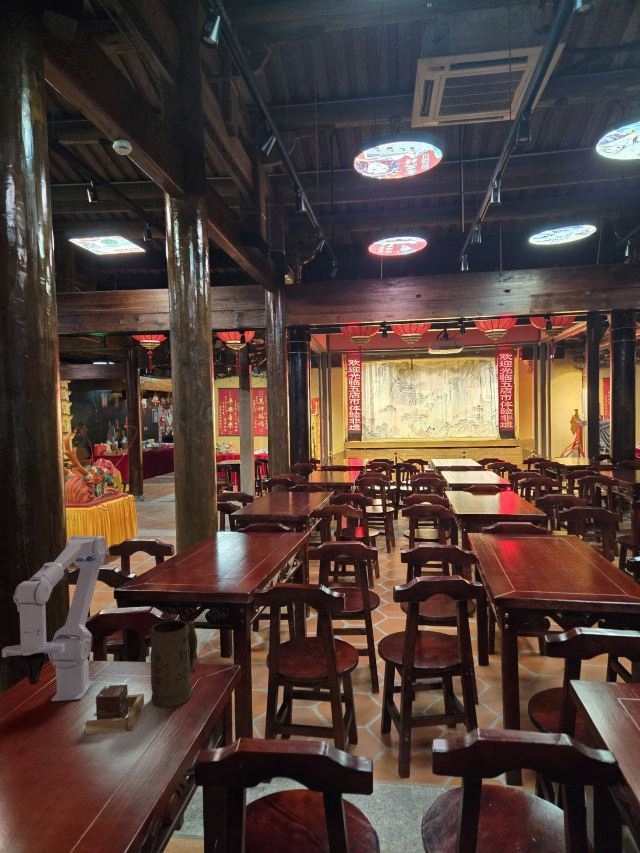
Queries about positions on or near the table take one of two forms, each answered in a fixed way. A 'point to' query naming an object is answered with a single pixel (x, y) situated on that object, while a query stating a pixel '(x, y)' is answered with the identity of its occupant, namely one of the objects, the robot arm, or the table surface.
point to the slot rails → (118, 723)
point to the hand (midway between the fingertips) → (34, 682)
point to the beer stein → (172, 662)
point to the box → (112, 702)
